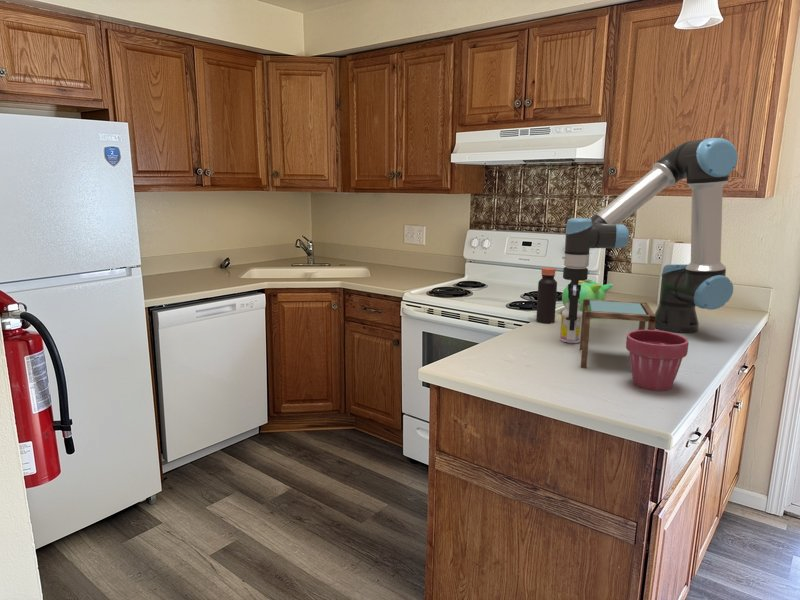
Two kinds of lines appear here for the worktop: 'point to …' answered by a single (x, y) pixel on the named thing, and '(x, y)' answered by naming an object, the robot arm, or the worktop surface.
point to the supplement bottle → (565, 322)
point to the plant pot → (655, 357)
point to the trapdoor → (617, 307)
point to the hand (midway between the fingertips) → (570, 336)
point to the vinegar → (546, 296)
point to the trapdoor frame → (609, 315)
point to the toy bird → (588, 292)
